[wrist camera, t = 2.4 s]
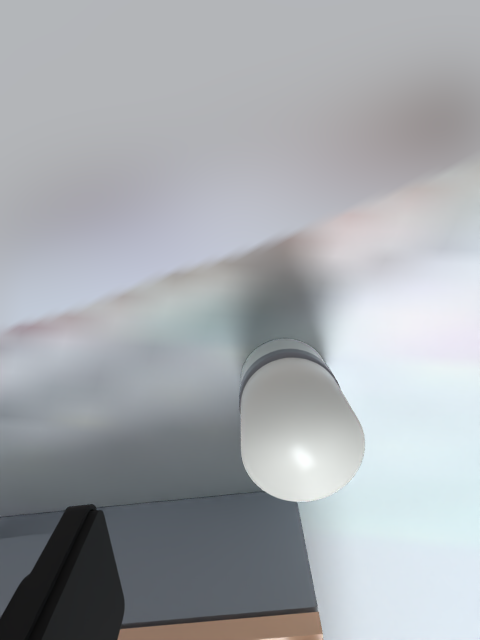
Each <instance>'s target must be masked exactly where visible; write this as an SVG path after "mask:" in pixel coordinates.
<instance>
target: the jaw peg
mask: <svg viewBox="0 0 480 640" xmlns="http://www.w3.org/2000/svg"><path fill="white" fill-rule="evenodd" d="M239 406H240V414H241V456H242V461H243V464H244V467H245V469H246V471H247V473H248V475H249V476H250V478H251V479H252V480H253V482H254V483H255V484H256V485H257V486H258V487H260V488H261V489H262V490H263V491H265V492H267V493H268V494H270V495H272V496H274V497H276V498H279V499H283V500H287V501H293V502H308V501H315V500H318V499H322V498H325V497H327V496H330V495H332V494H334V493H335V492H337V491H339V490H340V489H341V488H343V487H344V486H345V485H346V484H347V483H348V482H349V481H350V480H351V479H352V478H353V477H354V475H355V474H356V472H357V471H358V469H359V467H360V465H361V463H362V459H363V456H364V450H365V439H364V433H363V429H362V426H361V424H360V422H359V420H358V418H357V417H356V415H355V413H354V412H353V410H352V408H351V406H350V405H349V403H348V401H347V400H346V398H345V396H344V395H343V393H342V391H341V389H340V386H339V384H338V382H337V380H336V379H335V377H334V375H333V374H332V372H331V370H330V369H329V367H328V366H327V365H326V364H325V362H324V361H323V359H322V357H321V356H320V355H319V353H318V352H317V351H316V350H315V349H314V348H313V347H311V346H310V345H308V344H306V343H304V342H302V341H299V340H295V339H287V338H284V339H275V340H272V341H269V342H266V343H264V344H262V345H261V346H259V347H258V348H256V349H255V350H254V351H253V352H252V353H251V354H250V355H249V357H248V358H247V359H246V361H245V363H244V365H243V368H242V372H241V379H240V393H239Z"/></svg>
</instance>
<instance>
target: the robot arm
mask: <svg viewBox="0 0 480 640" xmlns="http://www.w3.org/2000/svg"><path fill="white" fill-rule="evenodd" d="M124 610H125V600H124V595H123V590H122V586H121V582H120V578H119V574H118V570H117V566H116V561H115V557H114V553H113V549H112V545H111V541H110V536H109V532H108V528H107V524H106V520H105V516H104V513H103V511H102V510H97V509H96V507H95V506H94V505H93V504H90V505H81V506H72V507H68V508H67V509H66V510H65V512H64V513H63V515H62V517H61V519H60V521H59V522H58V524H57V526H56V528H55V530H54V531H53V533H52V535H51V537H50V539H49V540H48V542H47V544H46V546H45V548H44V550H43V551H42V553H41V555H40V557H39V559H38V560H37V562H36V564H35V566H34V568H33V569H32V571H31V573H30V574H29V575H27V576H26V577H25V578H24V579H23V580H22V581H21V583H20V584H19V586H18V588H17V589H16V591H15V593H14V595H13V596H12V598H11V600H10V602H9V603H8V605H7V607H6V609H5V611H4V612H3V614H2V616H1V618H0V640H117V639H118V636H119V632H120V628H121V624H122V621H123V616H124Z"/></svg>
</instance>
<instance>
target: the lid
mask: <svg viewBox="0 0 480 640" xmlns="http://www.w3.org/2000/svg"><path fill="white" fill-rule="evenodd" d="M117 640H323V633H322V628H321V622H320V617H319V612H310V613H299V614H287V615H276V616H264V617H253V618H241V619H230V620H219V621H207V622H196V623H184V624H173V625H161V626H150V627H139V628H127V629H120V632H119V636H118V639H117Z"/></svg>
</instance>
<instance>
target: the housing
mask: <svg viewBox="0 0 480 640" xmlns="http://www.w3.org/2000/svg"><path fill="white" fill-rule="evenodd" d="M96 509H97V510H102V511H103V513H104V516H105V520H106V524H107V528H108V532H109V536H110V541H111V545H112V549H113V553H114V557H115V561H116V566H117V570H118V574H119V578H120V582H121V586H122V590H123V595H124V600H125V610H124V616H123V621H122V624H121V628H120V629H127V628H139V627H150V626H161V625H173V624H184V623H196V622H207V621H219V620H230V619H241V618H253V617H264V616H276V615H287V614H299V613H310V612H318V607H317V602H316V597H315V592H314V586H313V581H312V576H311V571H310V566H309V561H308V555H307V550H306V545H305V540H304V535H303V530H302V524H301V519H300V514H299V509H298V504H297V502H293V501H287V500H283V499H279V498H276V497H274V496H272V495H270V494H268V493H267V492H255V493H245V494H234V495H224V496H214V497H203V498H193V499H183V500H173V501H162V502H152V503H142V504H132V505H121V506H111V507H101V508H96ZM64 512H65V511H60V512H49V513H39V514H29V515H19V516H8V517H0V618H1V616H2V614H3V612H4V611H5V609H6V607H7V605H8V603H9V602H10V600H11V598H12V596H13V595H14V593H15V591H16V589H17V588H18V586H19V584H20V583H21V581H22V580H23V579H24V578H25V577H26V576H27V575H29V574H30V573H31V571H32V569H33V568H34V566H35V564H36V562H37V560H38V559H39V557H40V555H41V553H42V551H43V550H44V548H45V546H46V544H47V542H48V540H49V539H50V537H51V535H52V533H53V531H54V530H55V528H56V526H57V524H58V522H59V521H60V519H61V517H62V515H63V513H64Z"/></svg>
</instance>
